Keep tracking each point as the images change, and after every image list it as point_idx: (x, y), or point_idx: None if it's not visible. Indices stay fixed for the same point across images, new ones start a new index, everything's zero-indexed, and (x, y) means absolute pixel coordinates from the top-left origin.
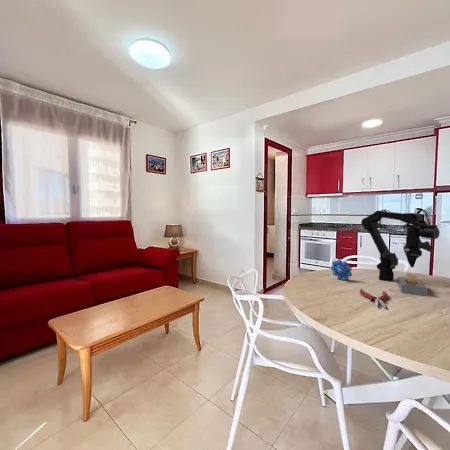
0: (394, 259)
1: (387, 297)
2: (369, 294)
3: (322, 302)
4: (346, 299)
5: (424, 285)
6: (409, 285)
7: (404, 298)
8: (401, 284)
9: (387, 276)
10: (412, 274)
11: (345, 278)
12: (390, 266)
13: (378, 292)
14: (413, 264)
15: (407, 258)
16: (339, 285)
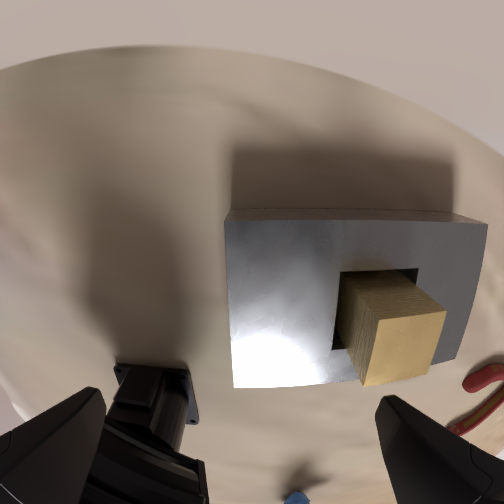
0: None
1: (500, 365)
2: (498, 406)
3: (497, 440)
4: (490, 426)
5: (447, 229)
6: (465, 322)
7: (494, 316)
8: (452, 359)
9: (182, 411)
10: (412, 344)
11: (306, 498)
12: (197, 477)
13: (440, 400)
14: (422, 425)
15: (83, 479)
16: (377, 482)
